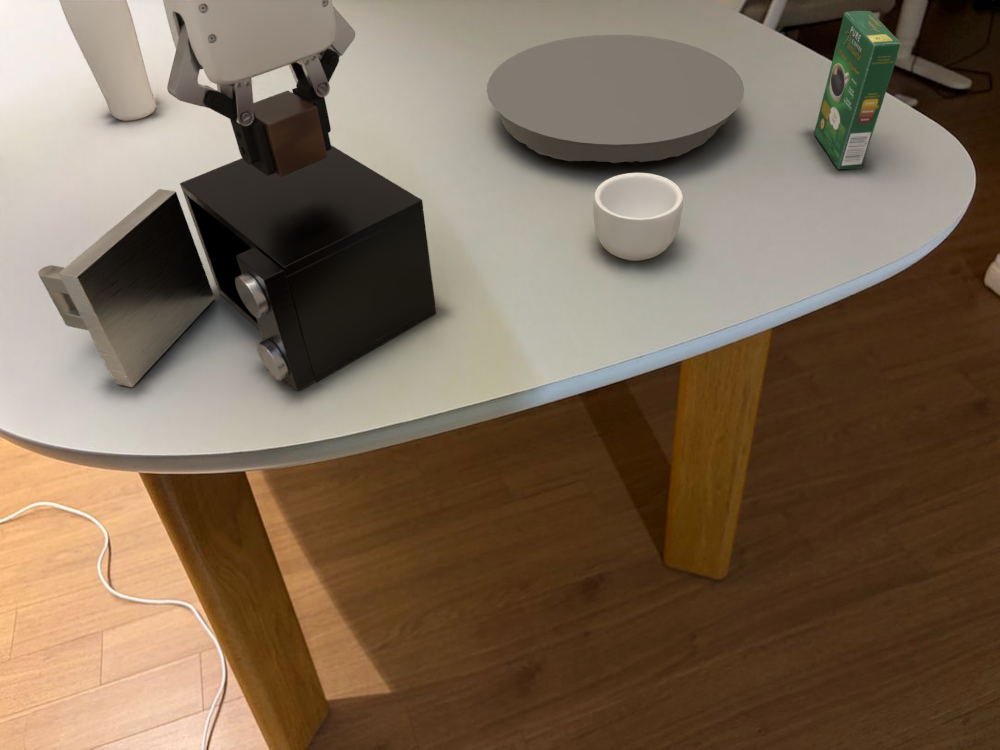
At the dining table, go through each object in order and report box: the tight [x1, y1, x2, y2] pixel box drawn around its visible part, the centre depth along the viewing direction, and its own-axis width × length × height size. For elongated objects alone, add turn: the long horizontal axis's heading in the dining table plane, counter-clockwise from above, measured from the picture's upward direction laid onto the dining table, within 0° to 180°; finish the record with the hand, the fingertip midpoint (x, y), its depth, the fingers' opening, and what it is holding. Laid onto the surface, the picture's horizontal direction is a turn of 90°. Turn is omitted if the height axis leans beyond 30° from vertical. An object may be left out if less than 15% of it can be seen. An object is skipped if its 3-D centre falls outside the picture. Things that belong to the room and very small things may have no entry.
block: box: [253, 90, 327, 177], centre depth 58 cm, size 4×4×4 cm
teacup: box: [592, 172, 684, 262], centre depth 72 cm, size 10×8×5 cm
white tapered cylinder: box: [58, 0, 157, 122], centre depth 93 cm, size 7×7×15 cm
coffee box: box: [813, 10, 902, 170], centre depth 80 cm, size 8×3×13 cm, turn 2°
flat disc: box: [486, 34, 745, 164], centre depth 90 cm, size 28×28×4 cm
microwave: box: [179, 144, 437, 391], centre depth 65 cm, size 14×16×11 cm
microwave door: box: [37, 188, 215, 388], centre depth 63 cm, size 7×12×11 cm, turn 162°
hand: (289, 154), depth 60 cm, fingers closed on block, 4 cm apart
